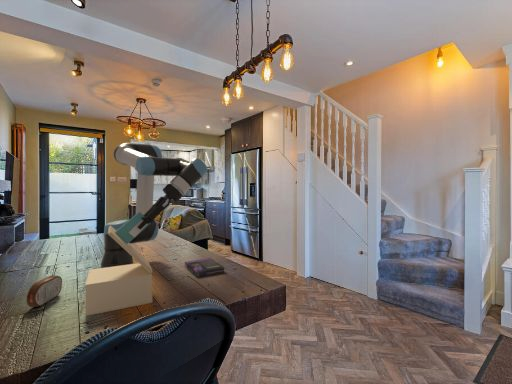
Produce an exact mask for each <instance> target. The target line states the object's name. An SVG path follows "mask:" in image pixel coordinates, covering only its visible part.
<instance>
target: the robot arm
mask: <svg viewBox="0 0 512 384" xmlns="http://www.w3.org/2000/svg"><path fill="white" fill-rule="evenodd" d="M113 158H114V160H115V161H116V162H117V164H120V165H122V166H129V167H132V168H134V170H135V171H136V173H137V176H136V200H135V215H136V214H137V213H138V212H139V211H140V212H141V213H142V214H143V215H144V216H145V218H143V217H142V218H141V219H142V220H141V221H140V222H139V223H138V224H137V225H136V226H135V227H134V228H133V229H132V230H131V231H130V232H129V233H130V234H131V235H132V236H133V237H134V239H132V240H131V241H130V242H129V243H130V244H131V245H132V244H137V243H143V242H144V243H145V242H146V243H147V242H151V241H153V240H155V239H156V238H157V236H158V234H159V230H160V229H159V227H160V226H159V222H158V221H157V220H156V218H158V216H159V215H161V213H162V212H163V211H164V210H166V209H167V208H168V207H169V206H170V204H171V203H170V202H171V201H173V202H175V203H178V202H179V201H180V200H181V199H182V197H183V195H186V193H189V192H190V189H191V188H192V187H193V186H195V185H196V183H198V182H199V181H200V179H202V178H203V177H204V175H205V174H206V173H207V172H208V166H207V165H206V163H205V162H204V161H203V160H202V159H200V158H198V157H194V158H193V159H191V160H190V161H188V160H186V159H184V158H183V157H173V158H171V157H163V154H162V151H161V149H160V148H159V147H158V146H156V145H153V144H145V143H134V142H124V143H121V144H118V145H117V146H116V147H115V148H114V149H113ZM155 176H156V177H157V176H159V177H160V176H164V177H173V178H172V179H171V180H170V182H169V183H167V184H166V185H165V186H164V187H163V188H162V192H163V193H164V196H160V197H159V198H158V199H157V201H156V202H154V189H155V188H154V185H155ZM128 220H129V219H122V220H115V221H110V222H108V223H106V224H104V228H103V241H104V247H103V248H104V253H103V256H102V259H101V261H100V268H106V267H114V266H122V265H129V264H134V258H133V257H132V256H131V255H130V254H129V253H128V252H127V251H126V250H125V249H124V248H122V247H121V246H120V245H119V244H118V243H117V242H116V241H115V240H114V239H113V238H112V237H111V236H109V235H108V229H109V227H110V226H112V227H113V228H114V229H115V230H116V231H117V230H118V229H119V228H120V227H121V226H123V225H124V224H125V223H126V222H127V221H128ZM143 220H144V221H143ZM148 223H151V224H150V225H148V226H147V227H146V228H145V229H144V230H143V231H142V232H140V231H141V230H142V229H143V228H144V227H145V226H146V225H147V224H148ZM139 232H140V233H139ZM138 233H139V234H138ZM137 234H138V235H137ZM136 235H137V236H136ZM135 236H136V237H135Z"/></svg>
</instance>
